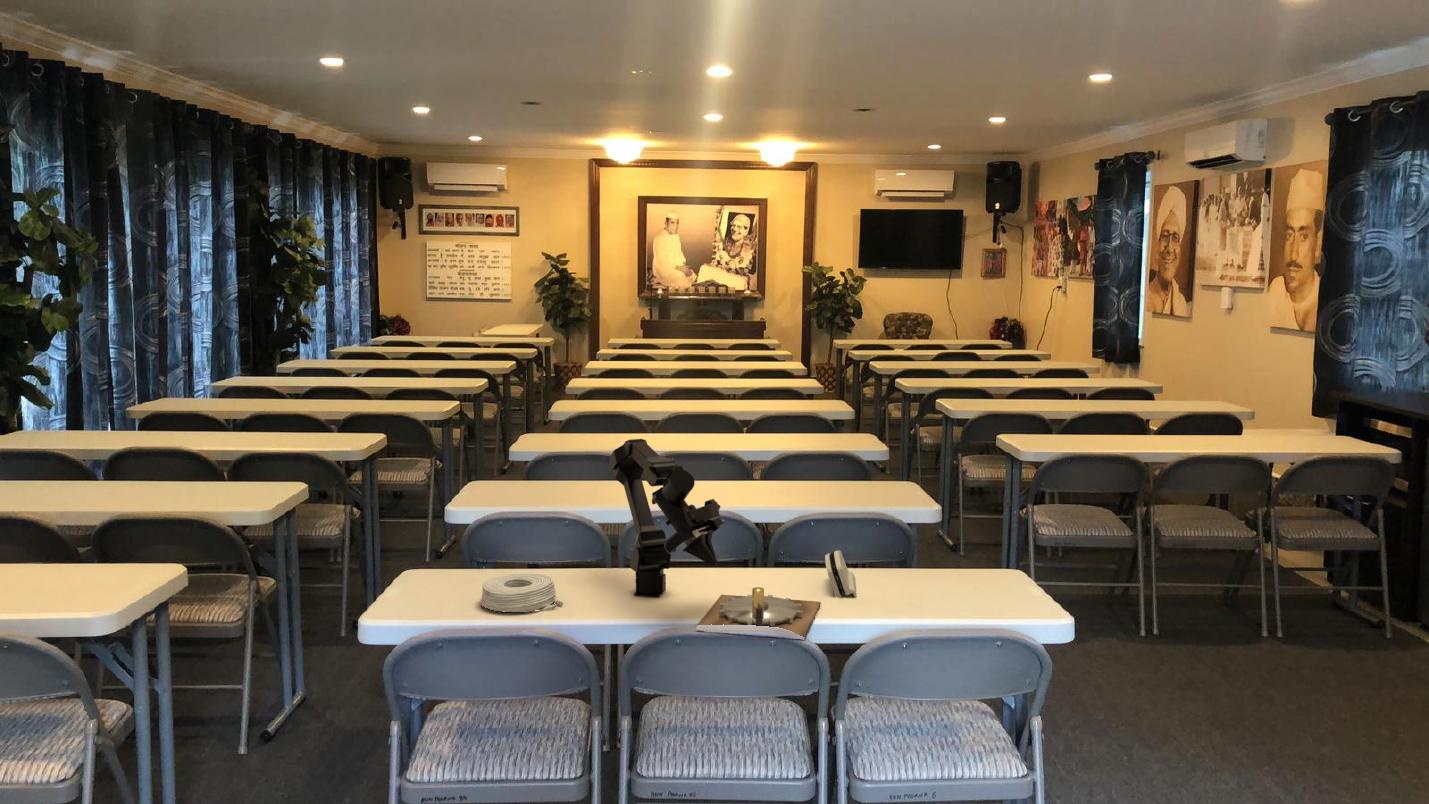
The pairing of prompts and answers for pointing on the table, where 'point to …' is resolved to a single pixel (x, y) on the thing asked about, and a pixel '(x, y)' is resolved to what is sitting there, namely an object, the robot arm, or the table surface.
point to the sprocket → (771, 609)
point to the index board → (798, 626)
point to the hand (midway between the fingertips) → (715, 565)
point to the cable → (519, 593)
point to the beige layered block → (840, 574)
